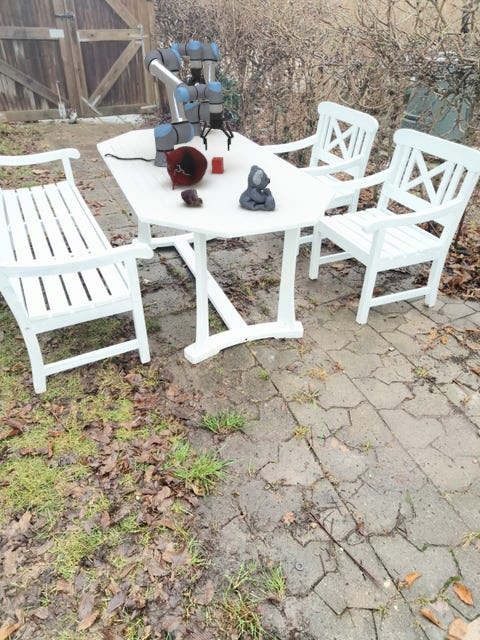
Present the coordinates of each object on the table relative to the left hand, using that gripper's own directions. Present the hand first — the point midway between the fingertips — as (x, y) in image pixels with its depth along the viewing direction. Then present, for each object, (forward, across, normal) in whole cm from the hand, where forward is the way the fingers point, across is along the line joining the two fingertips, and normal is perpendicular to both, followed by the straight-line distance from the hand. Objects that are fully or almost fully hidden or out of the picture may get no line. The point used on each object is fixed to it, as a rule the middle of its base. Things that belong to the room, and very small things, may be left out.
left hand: (217, 150), depth 271 cm
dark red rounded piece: (+13, +14, +23) cm, 30 cm away
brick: (+13, 0, 0) cm, 13 cm away
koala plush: (+14, -29, +56) cm, 65 cm away
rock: (+14, +5, +58) cm, 60 cm away
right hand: (-17, +24, -66) cm, 73 cm away
